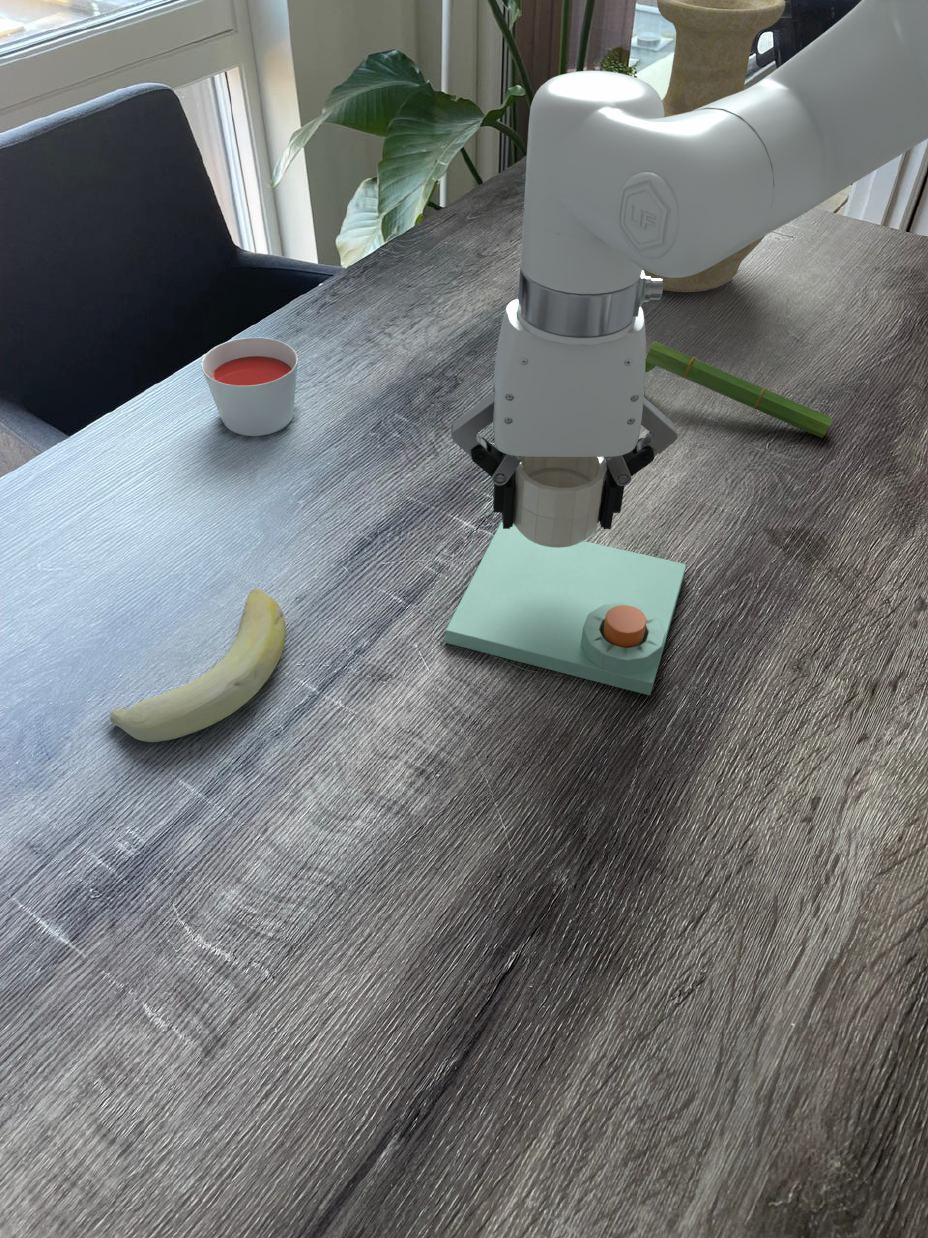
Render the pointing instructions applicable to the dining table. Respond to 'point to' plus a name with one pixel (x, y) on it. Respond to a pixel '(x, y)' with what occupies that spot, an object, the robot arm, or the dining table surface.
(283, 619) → the fruit
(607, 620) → the power button
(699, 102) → the vase
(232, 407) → the candle
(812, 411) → the decorative plant
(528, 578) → the scale
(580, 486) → the white cup
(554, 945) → the dining table surface
